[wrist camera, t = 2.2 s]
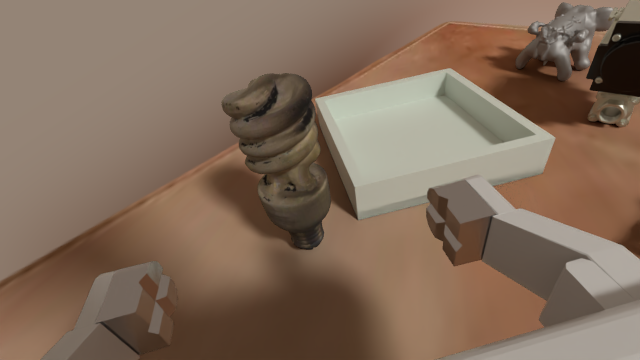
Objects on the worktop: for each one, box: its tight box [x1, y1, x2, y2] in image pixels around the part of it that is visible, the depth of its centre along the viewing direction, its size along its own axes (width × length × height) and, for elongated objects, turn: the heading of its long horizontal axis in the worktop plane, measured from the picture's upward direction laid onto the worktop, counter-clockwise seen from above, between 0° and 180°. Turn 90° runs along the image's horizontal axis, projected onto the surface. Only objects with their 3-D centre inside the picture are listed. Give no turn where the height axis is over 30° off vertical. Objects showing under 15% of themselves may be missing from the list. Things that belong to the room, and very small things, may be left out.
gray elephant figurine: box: [516, 2, 615, 81], centre depth 45 cm, size 9×12×8 cm
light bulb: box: [222, 73, 331, 250], centre depth 24 cm, size 6×6×15 cm
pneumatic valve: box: [586, 0, 640, 127], centre depth 32 cm, size 6×12×12 cm, turn 139°
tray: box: [315, 68, 555, 220], centre depth 36 cm, size 18×18×4 cm
